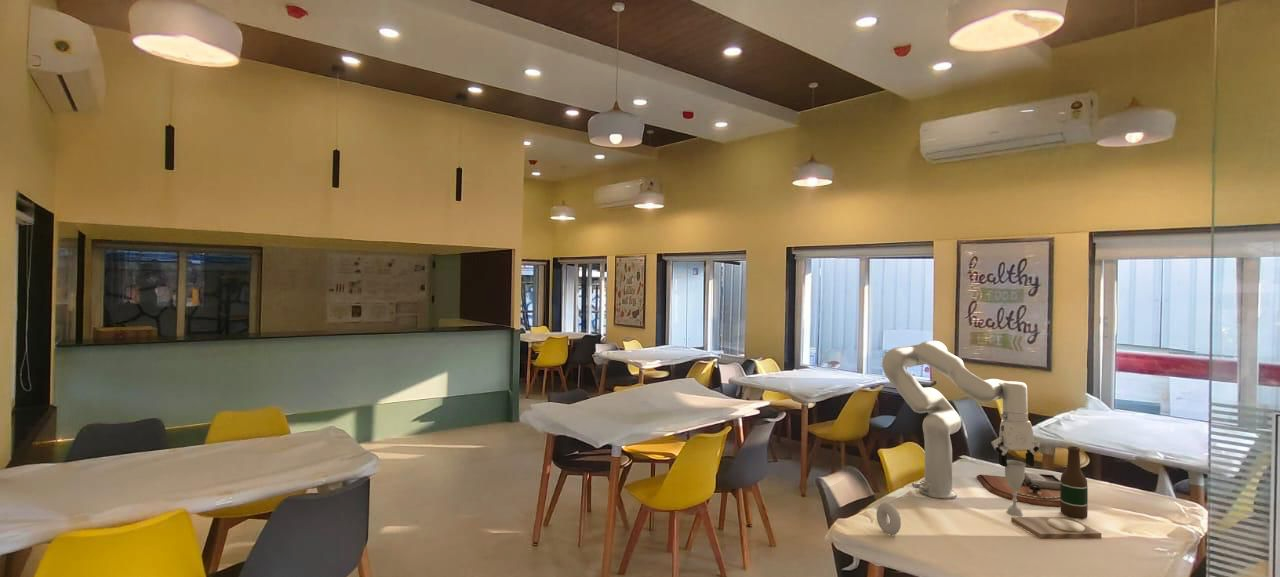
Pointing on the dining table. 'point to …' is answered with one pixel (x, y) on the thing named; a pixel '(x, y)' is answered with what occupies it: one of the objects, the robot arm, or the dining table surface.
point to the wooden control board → (1026, 489)
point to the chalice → (1015, 482)
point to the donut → (893, 515)
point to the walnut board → (1055, 527)
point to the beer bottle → (1073, 487)
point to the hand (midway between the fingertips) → (1016, 465)
